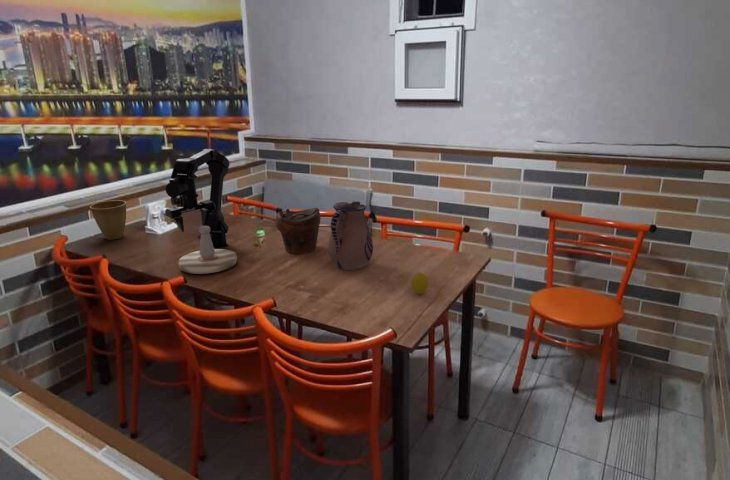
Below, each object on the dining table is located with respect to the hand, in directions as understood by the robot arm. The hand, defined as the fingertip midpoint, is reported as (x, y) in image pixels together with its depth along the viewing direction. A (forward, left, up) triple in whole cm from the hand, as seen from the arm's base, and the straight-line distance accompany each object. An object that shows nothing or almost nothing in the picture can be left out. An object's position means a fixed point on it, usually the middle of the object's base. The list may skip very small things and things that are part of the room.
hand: (193, 229), depth 201 cm
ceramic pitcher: (-37, +52, -13) cm, 65 cm away
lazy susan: (0, +10, -12) cm, 15 cm away
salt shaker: (0, +10, -10) cm, 14 cm away
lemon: (-37, +87, -13) cm, 95 cm away
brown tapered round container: (-37, +21, -13) cm, 44 cm away
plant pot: (+13, -55, -13) cm, 58 cm away
